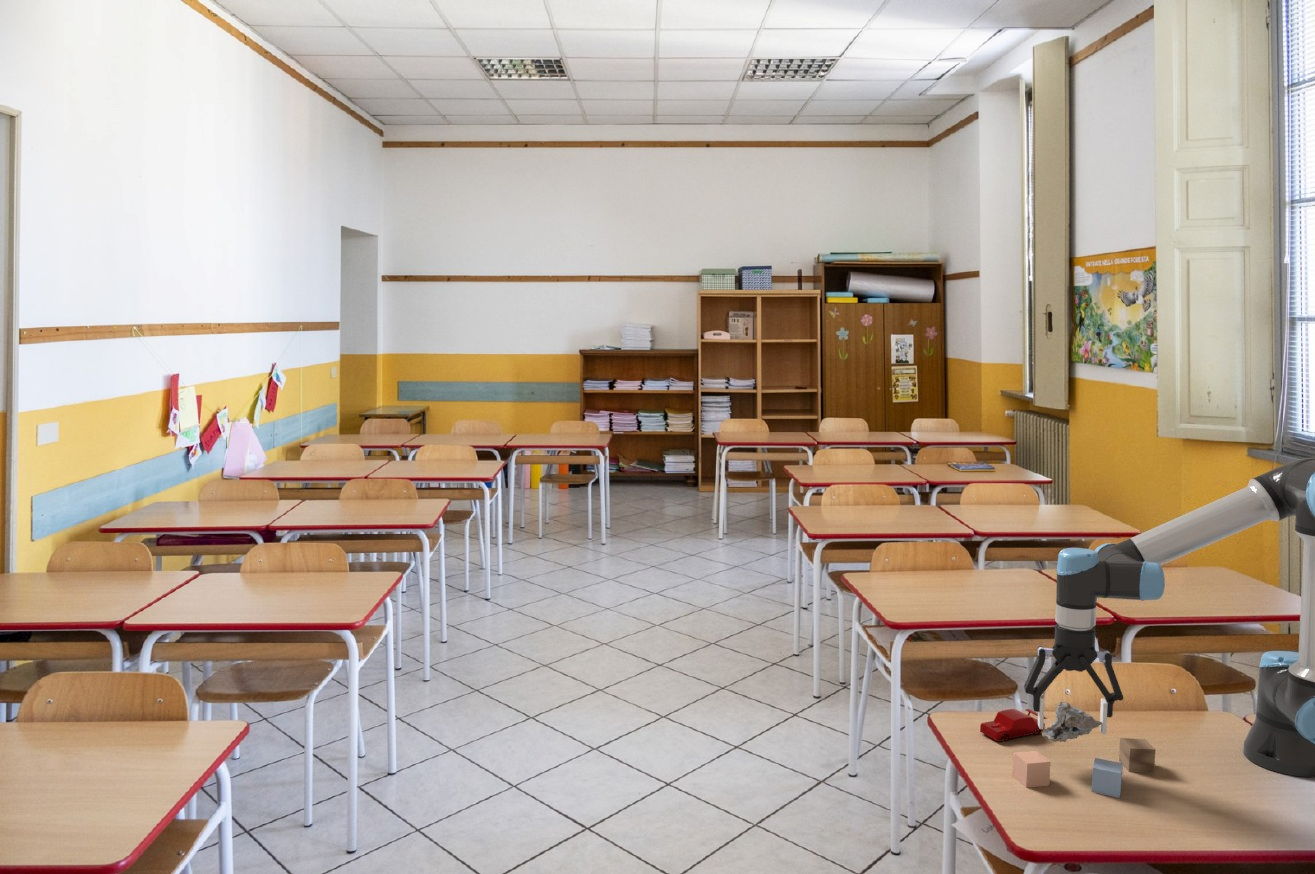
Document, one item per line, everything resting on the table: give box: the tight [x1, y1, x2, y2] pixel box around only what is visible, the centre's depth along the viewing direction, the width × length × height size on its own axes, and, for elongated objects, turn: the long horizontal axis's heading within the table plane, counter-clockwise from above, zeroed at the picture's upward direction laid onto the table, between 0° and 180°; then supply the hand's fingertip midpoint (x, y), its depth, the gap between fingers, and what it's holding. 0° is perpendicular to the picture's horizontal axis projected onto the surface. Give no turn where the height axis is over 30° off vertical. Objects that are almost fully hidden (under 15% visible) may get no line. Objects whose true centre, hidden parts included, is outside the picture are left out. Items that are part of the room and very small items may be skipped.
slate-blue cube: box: [1090, 757, 1124, 799], centre depth 189 cm, size 5×5×5 cm
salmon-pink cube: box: [1011, 750, 1051, 788], centre depth 193 cm, size 5×5×5 cm
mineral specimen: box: [1041, 701, 1102, 743], centre depth 197 cm, size 10×8×10 cm
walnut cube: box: [1118, 737, 1156, 773], centre depth 200 cm, size 5×5×5 cm
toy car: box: [979, 708, 1048, 743], centre depth 215 cm, size 14×6×5 cm, turn 113°
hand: (1071, 728), depth 198 cm, fingers closed on mineral specimen, 11 cm apart
